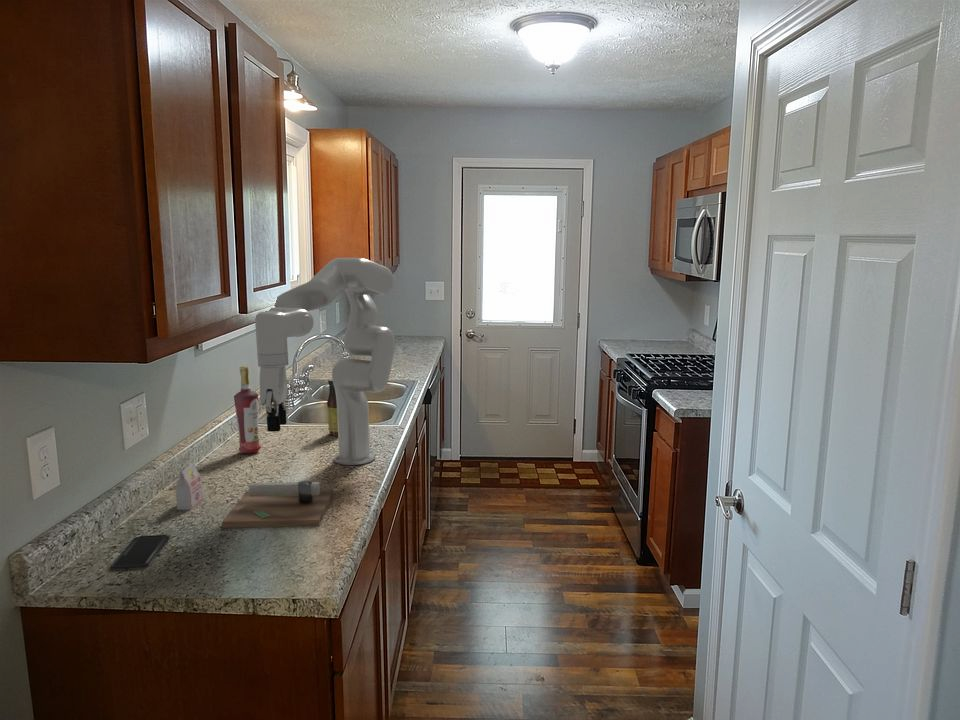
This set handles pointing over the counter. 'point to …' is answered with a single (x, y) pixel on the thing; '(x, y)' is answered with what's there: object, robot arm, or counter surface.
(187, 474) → the pink white carton
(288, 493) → the dial pointer
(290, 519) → the dial board
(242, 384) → the liquor
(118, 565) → the phone
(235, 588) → the counter surface
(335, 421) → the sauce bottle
